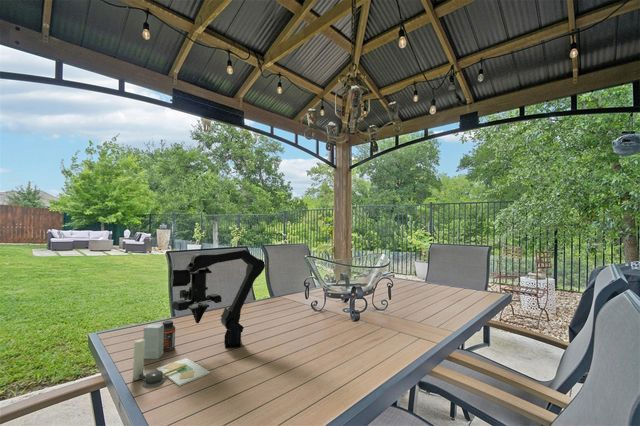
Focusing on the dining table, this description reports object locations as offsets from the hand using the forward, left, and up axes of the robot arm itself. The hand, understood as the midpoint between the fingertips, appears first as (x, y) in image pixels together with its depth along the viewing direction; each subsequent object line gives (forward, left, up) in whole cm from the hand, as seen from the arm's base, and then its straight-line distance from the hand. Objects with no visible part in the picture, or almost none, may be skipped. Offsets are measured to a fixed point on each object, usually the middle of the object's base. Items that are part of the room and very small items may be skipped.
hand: (197, 323), depth 122 cm
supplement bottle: (+13, -6, -12) cm, 19 cm away
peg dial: (+9, +18, -11) cm, 23 cm away
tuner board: (+4, +18, -12) cm, 22 cm away
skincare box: (+16, +1, -12) cm, 20 cm away
